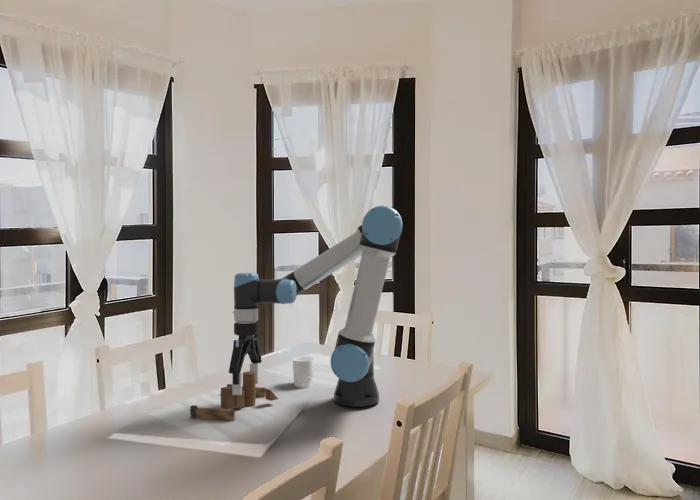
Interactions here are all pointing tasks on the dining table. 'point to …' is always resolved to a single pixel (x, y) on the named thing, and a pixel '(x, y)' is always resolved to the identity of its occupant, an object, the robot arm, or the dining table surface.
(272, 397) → the wooden block set
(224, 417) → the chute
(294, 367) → the white cup
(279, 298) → the robot arm
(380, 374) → the dining table surface
